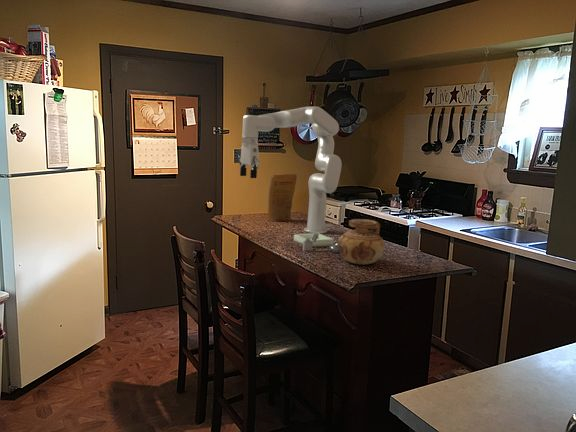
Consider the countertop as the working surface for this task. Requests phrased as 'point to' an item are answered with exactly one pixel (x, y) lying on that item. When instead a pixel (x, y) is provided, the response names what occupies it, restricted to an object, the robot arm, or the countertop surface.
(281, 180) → the pancake mix bag
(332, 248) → the pot lid
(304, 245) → the lighter
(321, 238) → the tray
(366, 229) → the clay pot
